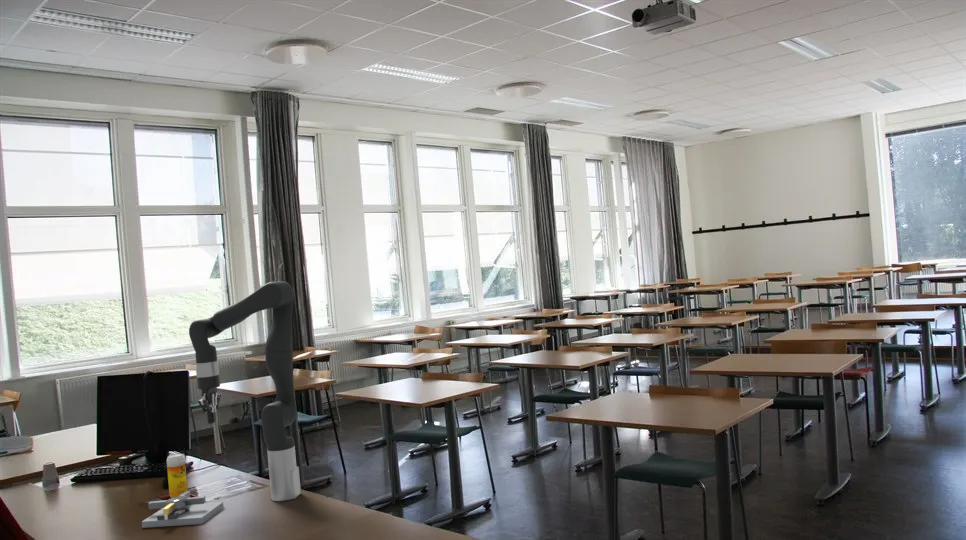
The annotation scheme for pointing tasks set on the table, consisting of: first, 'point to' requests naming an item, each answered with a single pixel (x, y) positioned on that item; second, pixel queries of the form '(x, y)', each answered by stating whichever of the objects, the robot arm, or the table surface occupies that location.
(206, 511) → the stand
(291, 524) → the table surface
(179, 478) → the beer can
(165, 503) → the valve handle
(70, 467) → the table surface
